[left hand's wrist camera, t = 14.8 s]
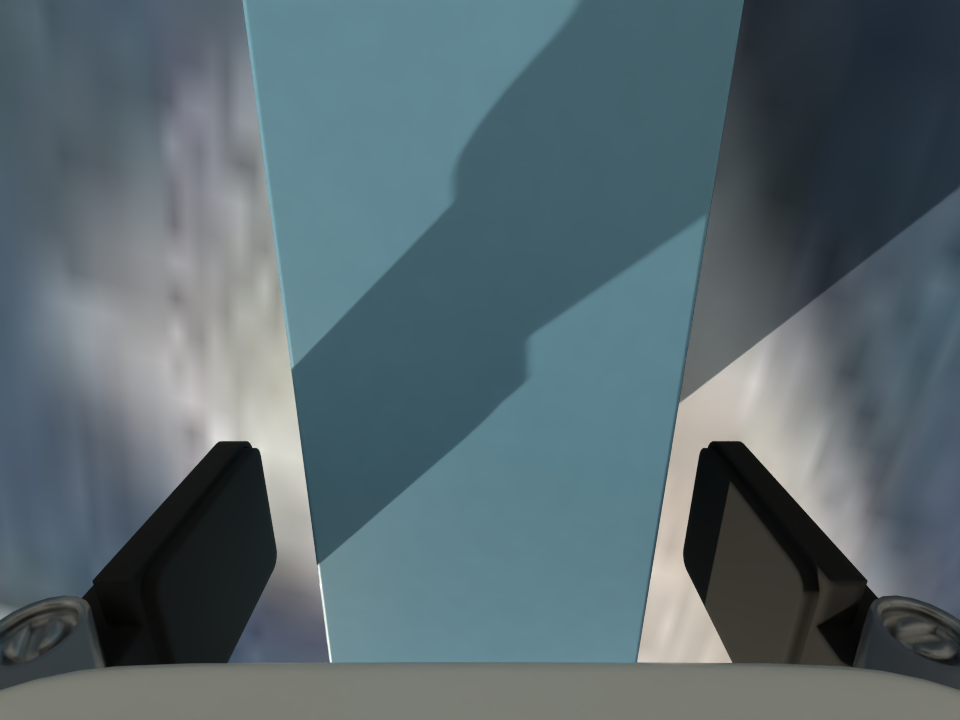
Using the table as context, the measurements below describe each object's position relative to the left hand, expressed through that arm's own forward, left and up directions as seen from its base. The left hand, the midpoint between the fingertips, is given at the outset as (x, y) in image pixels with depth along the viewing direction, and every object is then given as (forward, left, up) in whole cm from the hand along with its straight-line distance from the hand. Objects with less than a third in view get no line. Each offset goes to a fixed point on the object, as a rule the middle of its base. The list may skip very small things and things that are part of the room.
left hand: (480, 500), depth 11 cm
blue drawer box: (+2, +4, -6) cm, 7 cm away
